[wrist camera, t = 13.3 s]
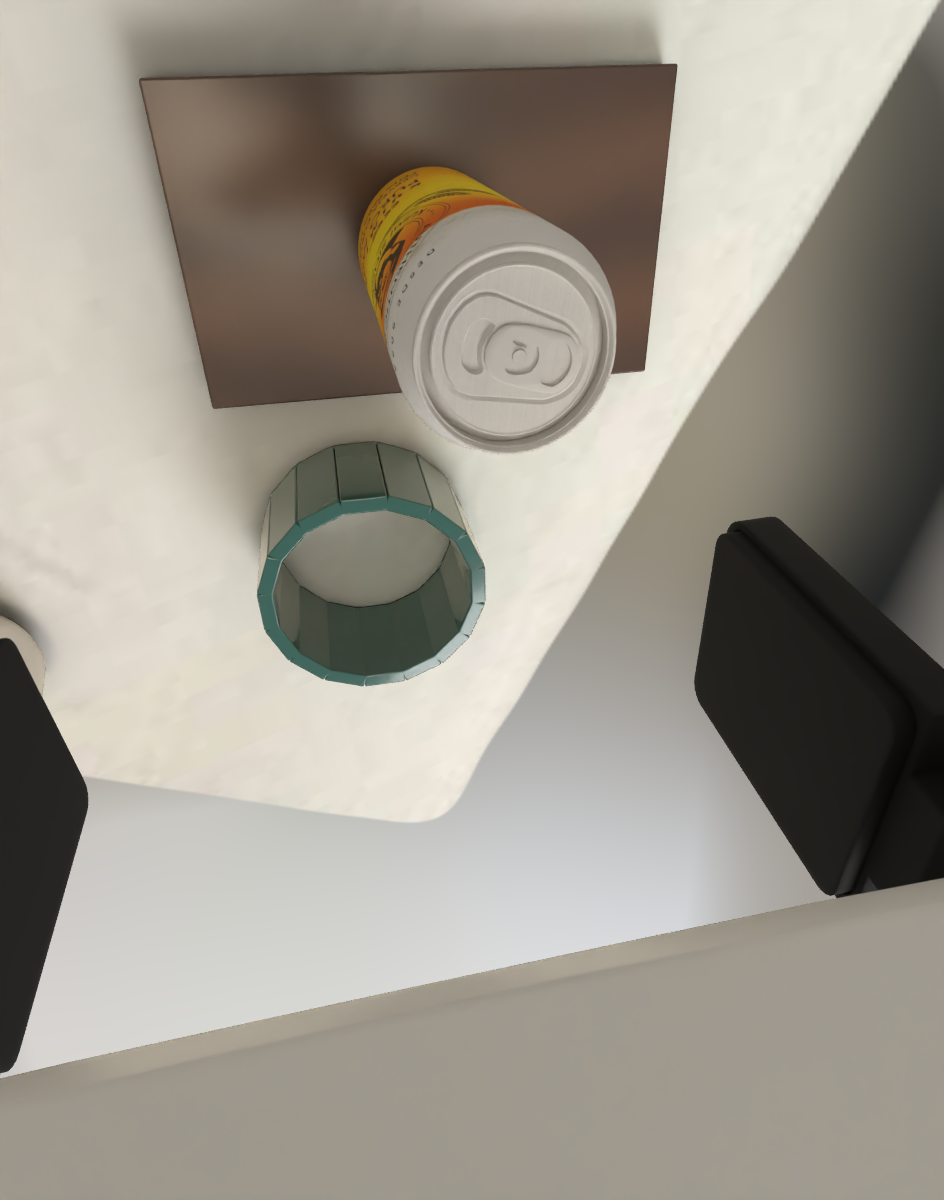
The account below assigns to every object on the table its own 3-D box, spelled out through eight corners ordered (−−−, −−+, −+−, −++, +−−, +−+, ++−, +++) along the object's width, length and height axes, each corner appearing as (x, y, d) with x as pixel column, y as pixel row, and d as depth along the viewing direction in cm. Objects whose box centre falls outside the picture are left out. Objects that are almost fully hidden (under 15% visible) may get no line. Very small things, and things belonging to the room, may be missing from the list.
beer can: (371, 145, 29) (427, 194, 17) (520, 188, 31) (667, 260, 19) (345, 307, 32) (376, 447, 20) (481, 338, 34) (585, 483, 22)
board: (144, 77, 28) (138, 78, 26) (663, 64, 31) (678, 63, 29) (215, 398, 35) (212, 409, 33) (633, 362, 37) (645, 371, 36)
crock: (245, 453, 36) (237, 511, 31) (459, 433, 38) (484, 485, 33) (281, 627, 42) (279, 699, 37) (465, 603, 44) (486, 670, 39)
